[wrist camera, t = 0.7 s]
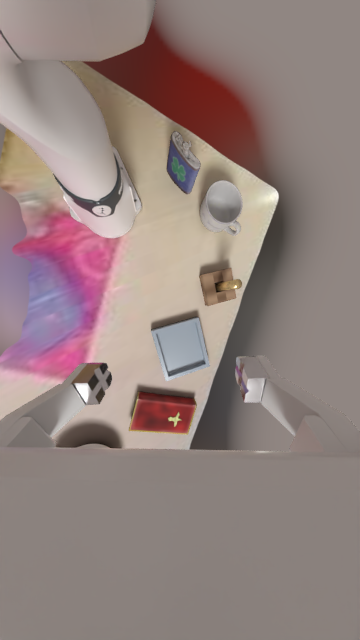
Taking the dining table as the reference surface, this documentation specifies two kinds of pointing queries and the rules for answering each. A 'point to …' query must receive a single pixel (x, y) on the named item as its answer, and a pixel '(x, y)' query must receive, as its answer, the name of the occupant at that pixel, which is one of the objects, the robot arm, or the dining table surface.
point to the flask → (182, 163)
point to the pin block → (209, 287)
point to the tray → (180, 348)
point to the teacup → (221, 207)
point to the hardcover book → (162, 413)
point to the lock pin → (228, 285)
